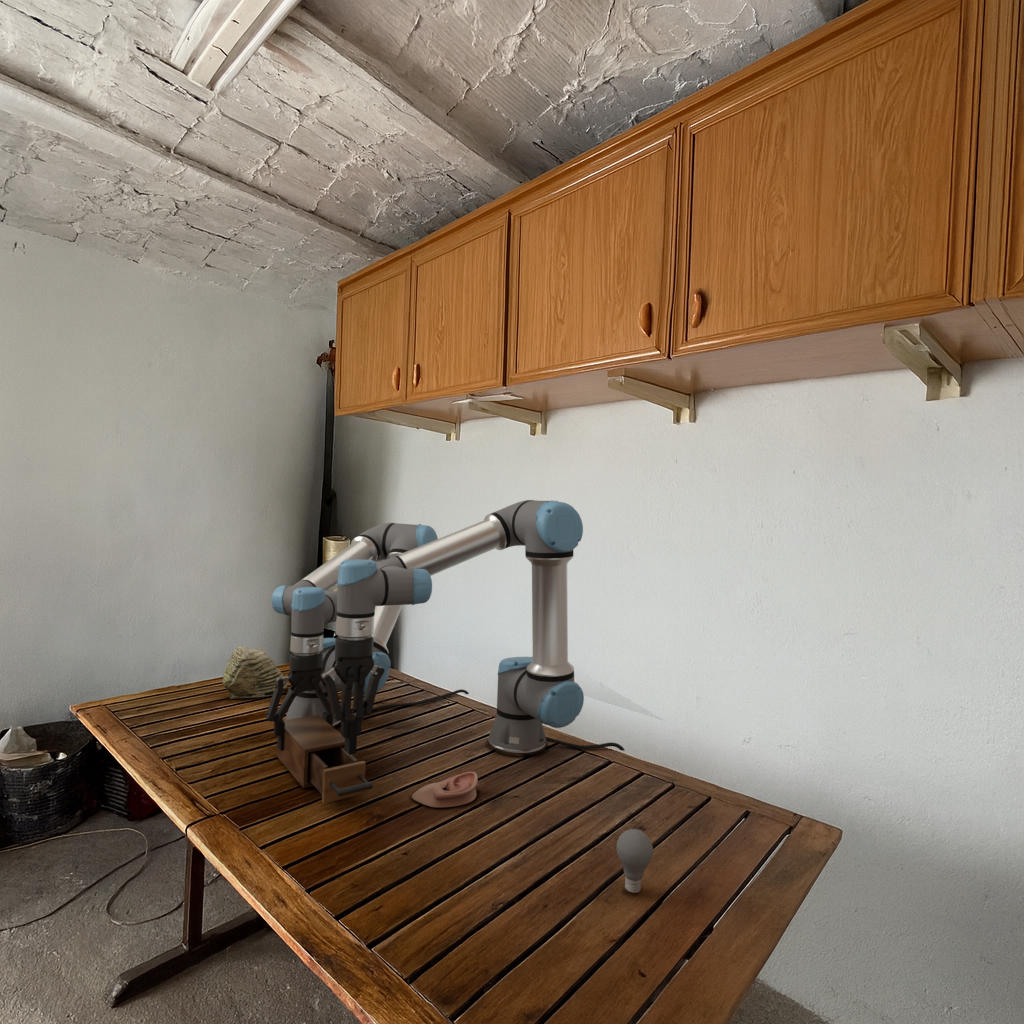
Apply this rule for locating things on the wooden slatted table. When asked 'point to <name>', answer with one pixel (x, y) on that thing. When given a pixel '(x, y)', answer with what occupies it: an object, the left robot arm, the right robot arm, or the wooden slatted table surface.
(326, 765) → the drawer
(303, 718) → the cabinet
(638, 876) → the light bulb
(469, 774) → the anatomical model
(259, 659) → the fossil
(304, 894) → the wooden slatted table surface
